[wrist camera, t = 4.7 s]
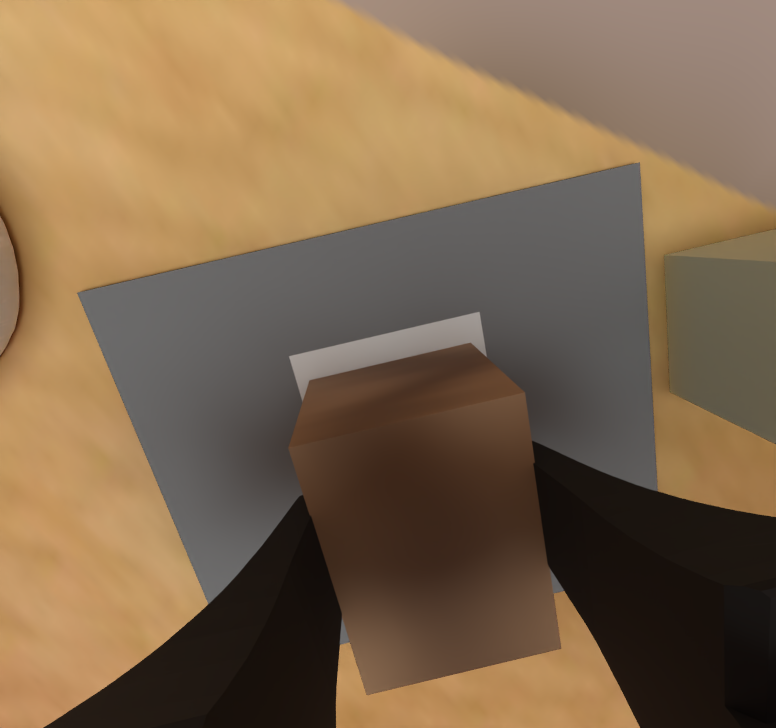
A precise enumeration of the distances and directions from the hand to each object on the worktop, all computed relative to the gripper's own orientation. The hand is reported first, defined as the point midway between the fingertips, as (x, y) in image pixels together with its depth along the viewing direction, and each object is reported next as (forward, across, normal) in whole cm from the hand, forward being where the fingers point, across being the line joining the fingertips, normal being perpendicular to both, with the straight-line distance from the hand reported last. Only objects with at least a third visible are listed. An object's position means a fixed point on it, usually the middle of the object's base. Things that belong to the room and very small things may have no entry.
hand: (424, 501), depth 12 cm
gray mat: (+3, 0, 0) cm, 3 cm away
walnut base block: (+3, 0, 0) cm, 3 cm away
